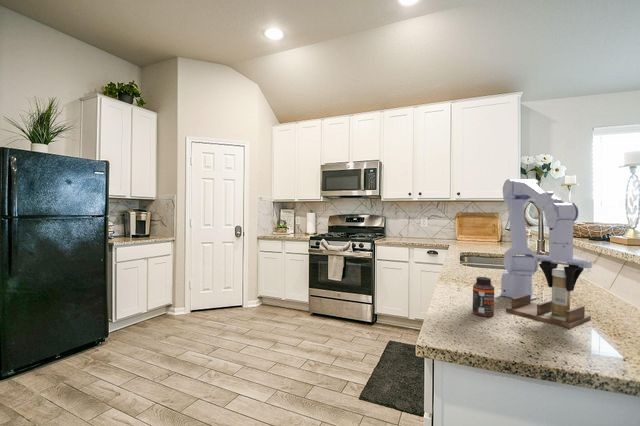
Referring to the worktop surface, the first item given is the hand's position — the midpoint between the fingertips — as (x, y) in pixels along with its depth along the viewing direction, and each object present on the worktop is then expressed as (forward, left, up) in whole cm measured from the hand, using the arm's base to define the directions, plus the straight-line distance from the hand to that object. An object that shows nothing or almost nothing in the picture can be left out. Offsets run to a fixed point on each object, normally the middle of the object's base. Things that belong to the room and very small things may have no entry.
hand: (560, 288), depth 92 cm
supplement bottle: (-14, -16, -9) cm, 23 cm away
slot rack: (-4, 0, -9) cm, 10 cm away
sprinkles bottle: (0, +1, -8) cm, 8 cm away
